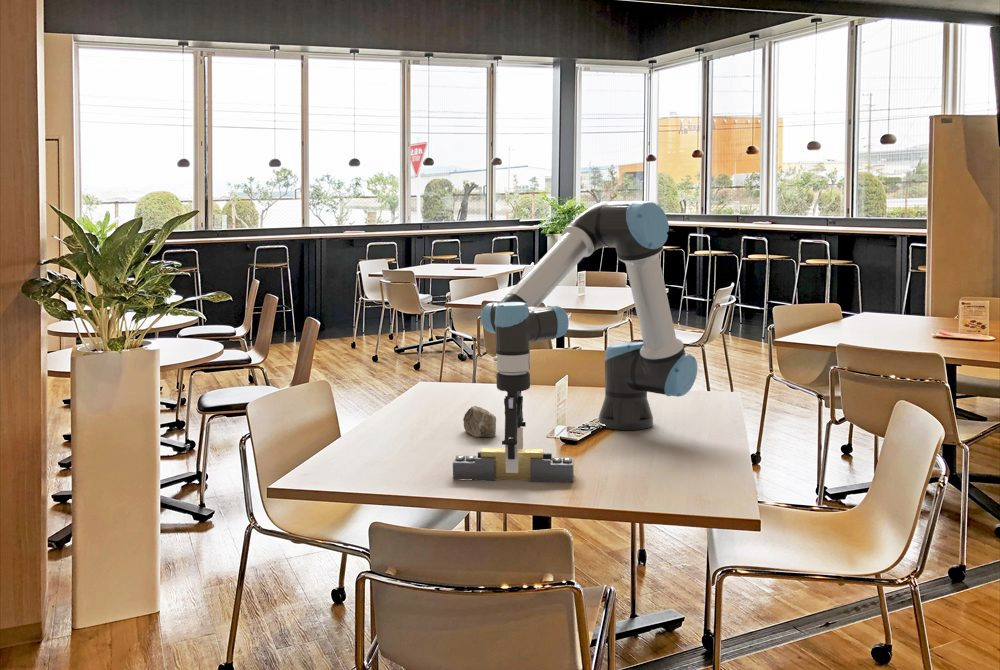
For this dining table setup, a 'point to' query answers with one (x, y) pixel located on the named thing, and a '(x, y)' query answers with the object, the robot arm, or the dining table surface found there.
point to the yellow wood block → (523, 462)
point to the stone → (480, 422)
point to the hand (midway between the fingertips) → (514, 463)
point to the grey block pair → (539, 468)
